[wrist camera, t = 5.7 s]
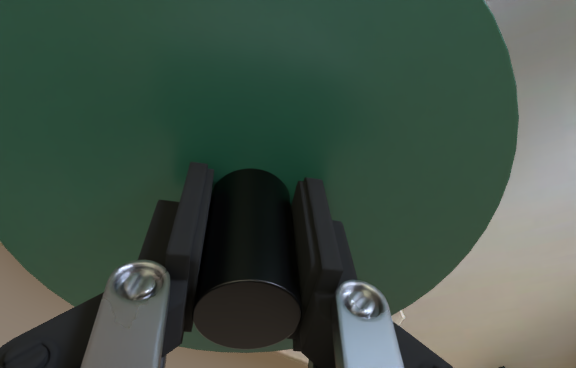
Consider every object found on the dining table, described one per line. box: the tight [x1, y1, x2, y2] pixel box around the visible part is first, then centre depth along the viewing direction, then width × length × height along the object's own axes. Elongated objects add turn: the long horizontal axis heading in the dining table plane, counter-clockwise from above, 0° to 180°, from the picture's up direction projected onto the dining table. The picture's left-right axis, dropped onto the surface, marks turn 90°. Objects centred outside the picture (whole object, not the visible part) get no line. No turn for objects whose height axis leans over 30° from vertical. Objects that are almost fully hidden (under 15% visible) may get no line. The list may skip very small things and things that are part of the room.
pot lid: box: [0, 0, 519, 353], centre depth 12 cm, size 17×17×6 cm
